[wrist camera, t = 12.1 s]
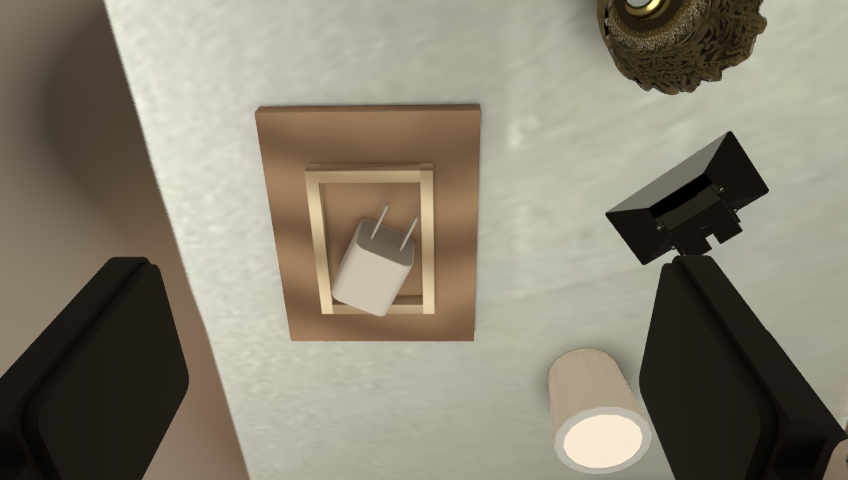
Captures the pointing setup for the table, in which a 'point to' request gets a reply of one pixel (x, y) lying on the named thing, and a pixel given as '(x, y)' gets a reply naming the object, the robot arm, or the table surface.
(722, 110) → the table surface
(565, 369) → the beige short cylinder
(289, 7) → the table surface
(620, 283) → the table surface
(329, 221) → the jig board
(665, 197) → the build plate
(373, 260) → the usb wall charger
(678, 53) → the cup
